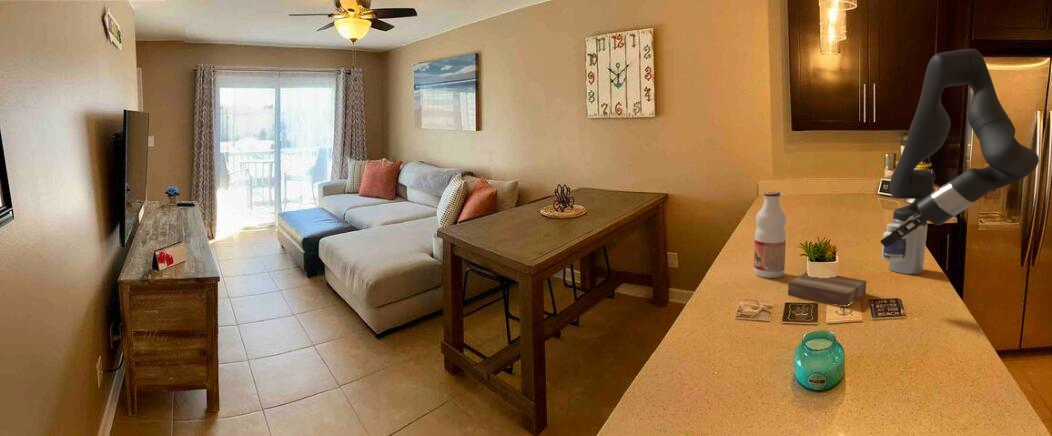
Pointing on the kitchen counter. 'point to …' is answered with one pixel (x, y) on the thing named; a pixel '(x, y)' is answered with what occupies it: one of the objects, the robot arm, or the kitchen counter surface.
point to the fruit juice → (770, 238)
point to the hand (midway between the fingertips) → (886, 241)
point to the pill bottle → (894, 246)
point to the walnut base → (827, 289)
